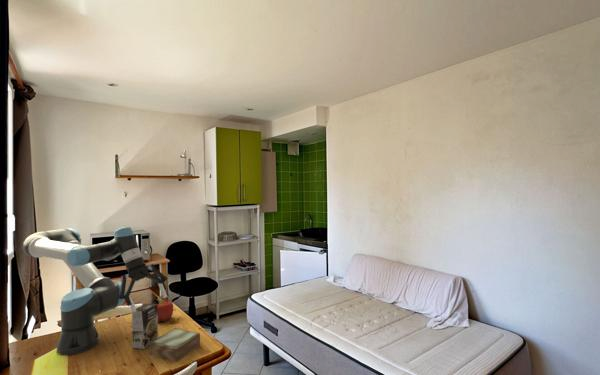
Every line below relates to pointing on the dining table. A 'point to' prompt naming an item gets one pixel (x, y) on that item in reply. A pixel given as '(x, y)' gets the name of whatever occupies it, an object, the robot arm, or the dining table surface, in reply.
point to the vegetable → (164, 310)
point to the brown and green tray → (174, 344)
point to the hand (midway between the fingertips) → (150, 304)
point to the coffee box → (144, 325)
